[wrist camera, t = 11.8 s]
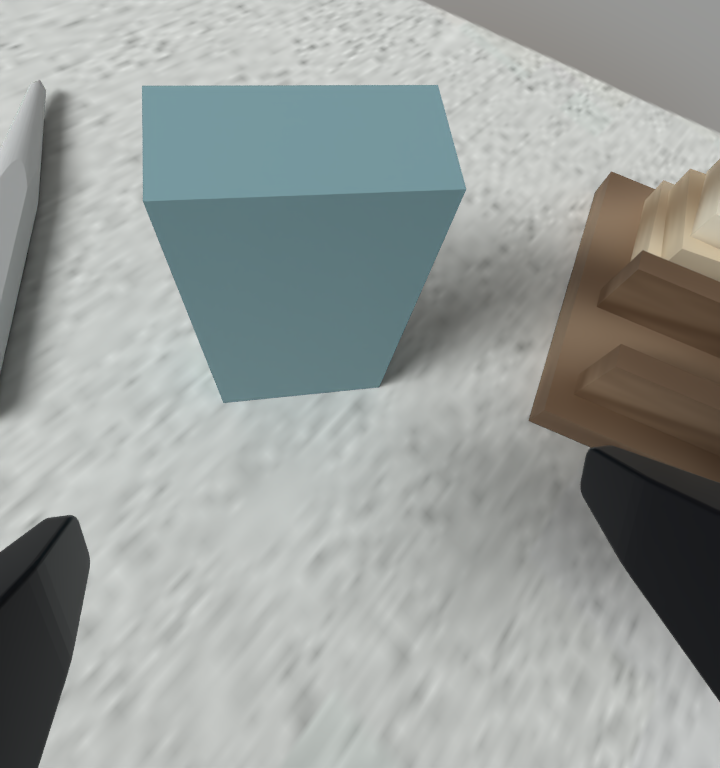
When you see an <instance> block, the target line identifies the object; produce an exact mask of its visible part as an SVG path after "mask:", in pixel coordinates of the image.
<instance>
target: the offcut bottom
mask: <svg viewBox="0 0 720 768" xmlns="http://www.w3.org/2000/svg"><path fill="white" fill-rule="evenodd" d="M673 186H674V184H671V183H669V182H666V181H663V182H662V183H661V184H660V185H659V186H658V187H657V188H656V189H655V190H654V191H653V192H652V193H651V195H650V196H649V197H648V198H647V199H646V200H645V202H644V206H643V211H642V215H641V219H640V223H639V227H638V232H637V236H636V240H635V244H634V248H633V253H632V257H631V261H632V260H633V259H634V258H635V257H636V256H637V255H638V254H639V253H640V252H641V251H642V250H644V251H646V252H649V253H651V254H654V255H656V256H658V257H661V253H662V245H663V236H664V228H665V219H666V211H667V203H668V194H669V190H670V189H671V188H672V187H673ZM631 261H630V262H631Z"/></svg>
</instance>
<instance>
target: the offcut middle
mask: <svg viewBox="0 0 720 768" xmlns="http://www.w3.org/2000/svg"><path fill="white" fill-rule="evenodd" d="M705 177H706V174H704V173H701V172H698V171H695V170H692V169H690V170H689V171H688V172H687V173H686V174H685V175H684V176H683V177H682V178H681V179H680V180H679V181H678V182H677V183H676V184H675V185H674V186H673V187H672V188H671V189H670V190H669V194H668V203H667V211H666V219H665V228H664V236H663V245H662V253H661V258H663V259H666V260H668V261H670V262H673V263H675V264H678V265H680V266H683V267H685V268H687V269H690V270H692V271H695V272H697V273H700V274H702V275H704V276H707V277H709V278H712V279H714V280H716V281H719V282H720V249H717V248H715V247H713V246H711V245H709V244H706V243H704V242H702V241H700V240H698V239H695V238H693V237H691V236H690V235H691V231H692V227H693V224H694V220H695V216H696V212H697V208H698V204H699V200H700V197H701V193H702V189H703V185H704V181H705Z"/></svg>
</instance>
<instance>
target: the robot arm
mask: <svg viewBox="0 0 720 768" xmlns="http://www.w3.org/2000/svg"><path fill="white" fill-rule="evenodd" d="M581 492H582V495H583V498H584V499H585V501H586V503H587V505H588V506H589V508H590V510H591V512H592V513H593V515H594V517H595V519H596V520H597V522H598V524H599V525H600V527H601V529H602V531H603V532H604V534H605V536H606V538H607V539H608V541H609V543H610V545H611V546H612V548H613V550H614V552H615V553H616V555H617V557H618V558H619V560H620V561H621V563H622V565H623V566H624V568H625V569H626V571H627V572H628V574H629V575H630V577H631V578H632V579H633V581H634V582H635V584H636V585H637V586H638V588H639V589H640V591H641V592H642V593H643V595H644V596H645V598H646V599H647V600H648V602H649V603H650V605H651V606H652V607H653V609H654V610H655V612H656V613H657V615H658V616H659V617H660V619H661V620H662V622H663V623H664V624H665V626H666V627H667V629H668V630H669V631H670V633H671V634H672V636H673V637H674V638H675V640H676V641H677V643H678V644H679V645H680V647H681V648H682V650H683V651H684V652H685V654H686V655H687V657H688V658H689V659H690V661H691V662H692V664H693V665H694V666H695V668H696V669H697V671H698V672H699V673H700V675H701V676H702V678H703V679H704V680H705V682H706V683H707V685H708V686H709V687H710V689H711V690H712V692H713V693H714V694H715V696H716V697H717V699H718V700H719V702H720V483H719V482H716V481H713V480H710V479H708V478H705V477H702V476H699V475H696V474H693V473H690V472H687V471H685V470H682V469H679V468H676V467H673V466H670V465H667V464H664V463H662V462H659V461H656V460H653V459H650V458H647V457H644V456H641V455H639V454H636V453H633V452H630V451H627V450H624V449H621V448H618V447H616V446H612V445H606V446H599V447H592V448H591V449H589V450H588V452H587V454H586V458H585V463H584V468H583V473H582V478H581ZM89 568H90V557H89V552H88V549H87V546H86V543H85V540H84V536H83V533H82V530H81V527H80V524H79V521H78V520H77V518H76V517H74V516H72V515H67V516H59V517H51V518H47V519H45V520H43V521H42V522H40V523H39V524H38V525H36V526H35V527H33V528H32V529H31V530H29V531H28V532H27V533H25V534H24V535H23V536H21V537H20V538H19V539H17V540H16V541H14V542H13V543H12V544H10V545H9V546H8V547H6V548H5V549H4V550H2V551H1V552H0V768H38V766H39V763H40V760H41V757H42V754H43V750H44V747H45V744H46V741H47V738H48V735H49V731H50V728H51V725H52V722H53V719H54V715H55V712H56V709H57V706H58V703H59V700H60V696H61V693H62V690H63V687H64V684H65V681H66V677H67V674H68V670H69V667H70V663H71V660H72V655H73V651H74V646H75V641H76V636H77V631H78V626H79V621H80V615H81V610H82V605H83V600H84V595H85V590H86V584H87V579H88V574H89Z"/></svg>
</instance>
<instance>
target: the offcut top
mask: <svg viewBox="0 0 720 768" xmlns="http://www.w3.org/2000/svg"><path fill="white" fill-rule="evenodd" d="M690 236H691V237H693V238H695V239H698V240H700V241H702V242H704V243H706V244H709V245H711V246H713V247H715V248H717V249H720V159H719V160H718V161H717V162H716V163H715V164H714V165H713V166H712V167H711V168H710V169H709V170H708V171H707V173H706V177H705V181H704V185H703V189H702V193H701V197H700V200H699V204H698V208H697V212H696V216H695V220H694V224H693V227H692V231H691V235H690Z"/></svg>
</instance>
